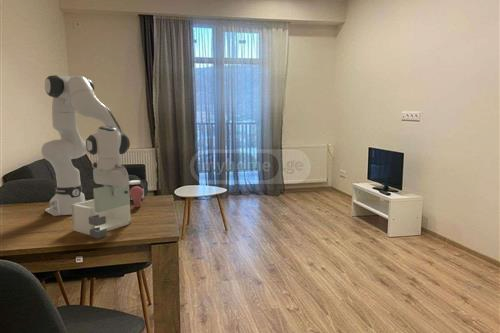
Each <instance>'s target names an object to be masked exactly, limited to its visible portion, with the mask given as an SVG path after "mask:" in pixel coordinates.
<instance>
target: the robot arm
mask: <svg viewBox="0 0 500 333" xmlns="http://www.w3.org/2000/svg"><path fill="white" fill-rule="evenodd" d="M44 90H45V93H46V94H47V95H48V96H49V97H51V98H52V102H51V104H52V105H51V111H52V112H51V114H52V115H51V116H52V117H51V118H52V127H53V128H54V129H55V131H57V132H58V133H59V135H60V139H52V140H50V141H47V142H44V143H43V144H42V147H41V155H42V157H43V159H45V160H46V161H48V162H49V163H50V165H51V166H52V168H53V170H54V173H55V179H56V185H57V186H56V187H55V194H54V196H52V198H51V199H50V200H49V202H48V205H49V207H47V208H45V212H46V213H48V214H50V215H51V216H53V217H56V216H68V215H71V216H72V206H71V204H75V203H80V202H84V201H86V198H85V194H84V193H83V192H82V191H83V186H82V184H81V176H80V175H81V174H80V170H79V169H78V168H77V167H75V166H74V164H73V162H72V160H73V159H74V160H75V159H79V158H82V157H84V156H85V155H86V154H87V153H89V154H90V155H92V156H98V160H96V161H93V162H92V163H91V166H92V168H93V170H92V174H93V182H94V183H95V185H96V184H97V185H102V186H103V187H104V186H113V189H114V191H113V192H112V195H113V196H118V190H119V187H121V188H124V187H128V186H129V181H130V177H129V173H128V171H127V170H128V169H127V168H126V166H125V165H122V161H121V160H122V158H121V155H124V154H126V153H127V152H128V150H129V148H130V147H131V142H130V139H129V137H128V136H127V134H126V133H125V132H124V131H123V129H122V128H121V126H120V125H119V122H118V121H117V120H116V118H115V116H114V114H113V113H112V111H111V110H110V108H109V107H108V106H107V105H105V104H103V103H102V102H101V100H99V98H98V97H97V96H96V92H95V86H94V83H93V81H92V80H91V79H89V78H86V77H85V76H82V75H74V76H73V75H56V74H55V75H54V74H53V75H52V74H51V75H49V76H47V77H46V78H45V81H44ZM78 114H79V115H80V116H82V117H83V116H84V117H86V118H87V117H88V118H91V119H94V120H98V121H100V122H101V123H103V124H104V125H103V126H99V127H98V128H97V130H96V131H95V133H93V134H90V135H89V136H87V138H86V139H85V140H84V139H83V138H82V137H81V135H80V131H79V129H78V118H77V115H78Z"/></svg>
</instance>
